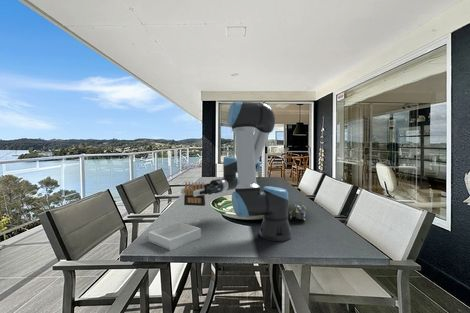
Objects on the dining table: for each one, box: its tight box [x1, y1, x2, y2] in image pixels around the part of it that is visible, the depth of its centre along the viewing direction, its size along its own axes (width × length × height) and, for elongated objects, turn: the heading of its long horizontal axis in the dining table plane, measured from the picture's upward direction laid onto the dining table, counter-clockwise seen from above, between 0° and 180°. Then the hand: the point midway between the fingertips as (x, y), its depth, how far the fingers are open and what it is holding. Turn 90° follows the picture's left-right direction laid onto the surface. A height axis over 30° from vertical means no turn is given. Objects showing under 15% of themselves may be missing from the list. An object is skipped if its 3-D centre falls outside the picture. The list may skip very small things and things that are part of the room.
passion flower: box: [288, 202, 308, 221], centre depth 145 cm, size 11×11×12 cm
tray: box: [148, 221, 202, 252], centre depth 117 cm, size 16×18×4 cm
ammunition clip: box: [183, 181, 206, 207], centre depth 129 cm, size 11×2×12 cm, turn 82°
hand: (187, 192), depth 126 cm, fingers closed on ammunition clip, 9 cm apart
